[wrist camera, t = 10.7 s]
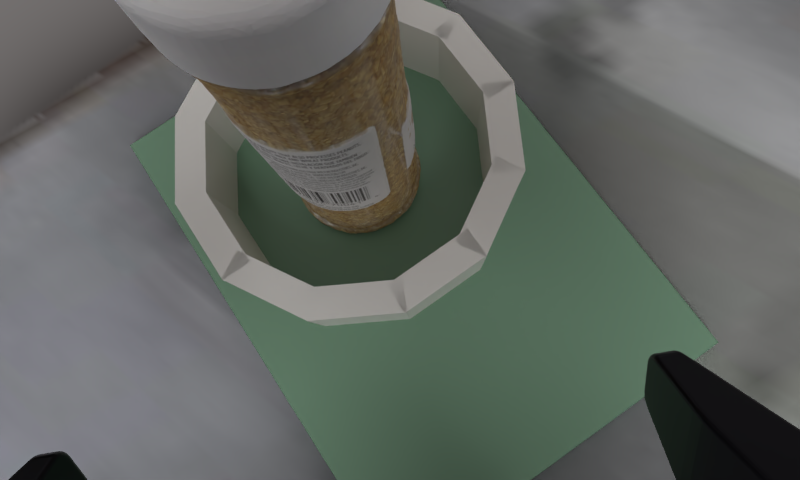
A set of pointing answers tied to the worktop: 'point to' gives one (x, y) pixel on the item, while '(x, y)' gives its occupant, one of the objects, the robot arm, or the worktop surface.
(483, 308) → the practice green
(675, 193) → the worktop surface
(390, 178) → the sprinkles bottle
